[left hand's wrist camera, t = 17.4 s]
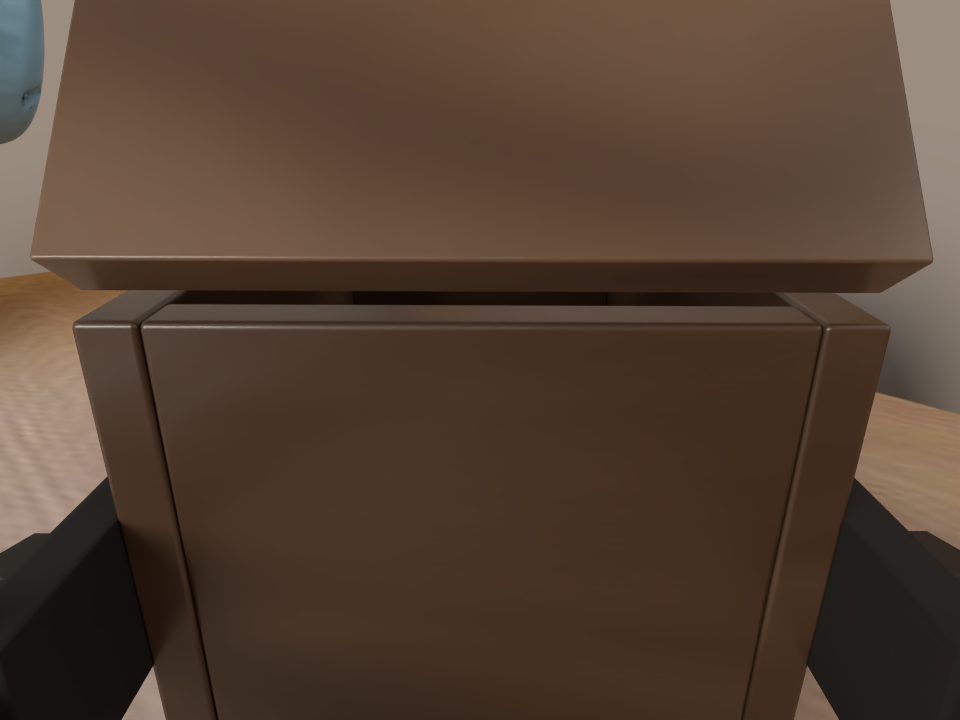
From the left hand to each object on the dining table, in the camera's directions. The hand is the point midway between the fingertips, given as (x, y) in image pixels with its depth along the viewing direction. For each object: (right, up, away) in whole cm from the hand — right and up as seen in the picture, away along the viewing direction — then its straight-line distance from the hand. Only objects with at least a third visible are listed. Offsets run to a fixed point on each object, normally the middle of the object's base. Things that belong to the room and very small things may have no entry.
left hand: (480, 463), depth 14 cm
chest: (0, -4, +5) cm, 7 cm away
